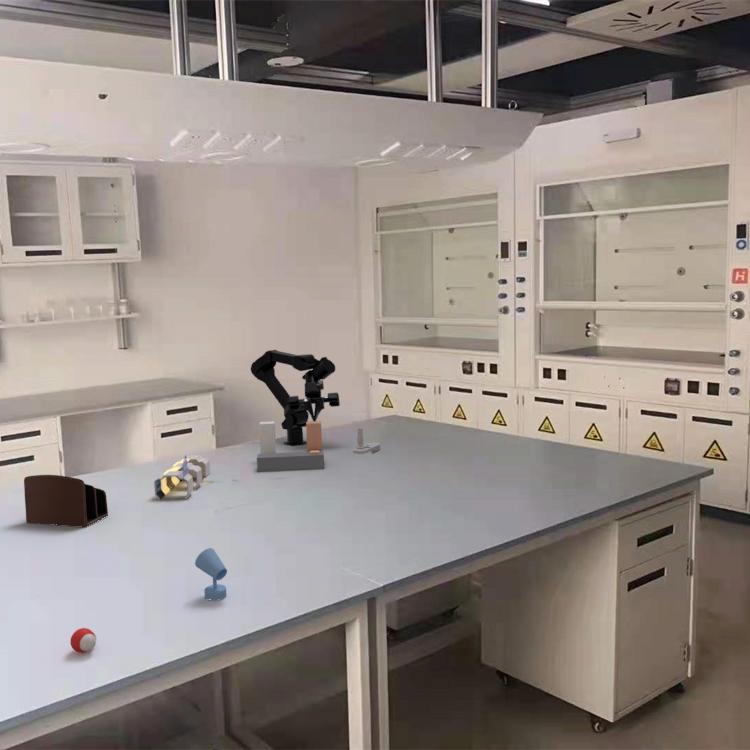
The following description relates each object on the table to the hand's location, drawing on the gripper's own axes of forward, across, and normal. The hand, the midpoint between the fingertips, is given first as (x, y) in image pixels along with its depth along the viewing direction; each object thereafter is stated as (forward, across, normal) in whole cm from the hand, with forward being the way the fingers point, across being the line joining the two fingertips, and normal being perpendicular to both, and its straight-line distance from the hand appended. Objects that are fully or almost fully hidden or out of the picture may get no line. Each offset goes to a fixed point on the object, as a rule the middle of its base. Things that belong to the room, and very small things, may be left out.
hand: (314, 421), depth 288 cm
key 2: (+20, 0, -6) cm, 20 cm away
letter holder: (+51, -66, -45) cm, 95 cm away
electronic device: (+10, +18, +10) cm, 23 cm away
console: (+21, -8, -6) cm, 23 cm away
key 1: (+18, -16, -4) cm, 24 cm away
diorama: (+34, -40, -22) cm, 57 cm away
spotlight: (+90, -14, -85) cm, 124 cm away
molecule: (+104, -33, -103) cm, 150 cm away
